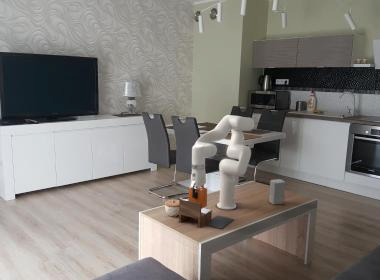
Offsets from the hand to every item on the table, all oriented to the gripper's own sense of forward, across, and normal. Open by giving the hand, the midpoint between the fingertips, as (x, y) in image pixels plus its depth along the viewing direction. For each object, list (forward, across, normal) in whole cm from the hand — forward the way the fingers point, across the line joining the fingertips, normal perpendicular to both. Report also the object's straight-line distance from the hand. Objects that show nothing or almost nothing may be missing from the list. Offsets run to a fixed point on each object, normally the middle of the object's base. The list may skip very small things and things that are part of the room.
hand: (197, 196), depth 212 cm
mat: (+15, +4, -13) cm, 20 cm away
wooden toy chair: (+15, -2, 0) cm, 15 cm away
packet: (+6, 0, 0) cm, 6 cm away
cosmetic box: (+16, +56, -30) cm, 65 cm away
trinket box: (+15, -2, +16) cm, 22 cm away
